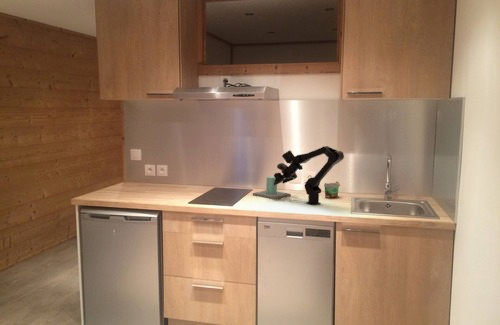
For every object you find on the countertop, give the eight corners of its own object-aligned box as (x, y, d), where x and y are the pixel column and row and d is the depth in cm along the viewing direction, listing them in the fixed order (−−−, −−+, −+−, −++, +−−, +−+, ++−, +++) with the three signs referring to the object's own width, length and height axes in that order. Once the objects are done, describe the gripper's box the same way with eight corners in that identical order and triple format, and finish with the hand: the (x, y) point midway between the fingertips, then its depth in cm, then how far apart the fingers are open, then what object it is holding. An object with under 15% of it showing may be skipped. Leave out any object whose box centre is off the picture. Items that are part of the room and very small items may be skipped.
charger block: (272, 194, 253) (272, 178, 251) (266, 193, 256) (266, 177, 255) (276, 193, 256) (277, 177, 255) (271, 192, 260) (271, 176, 258)
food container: (330, 199, 245) (331, 184, 244) (323, 198, 250) (324, 183, 249) (343, 197, 252) (343, 182, 251) (336, 195, 257) (336, 181, 256)
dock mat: (290, 195, 256) (290, 193, 255) (275, 199, 244) (275, 197, 244) (267, 191, 269) (267, 189, 269) (252, 195, 257) (252, 192, 257)
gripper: (293, 158, 253) (280, 173, 261) (276, 160, 239) (262, 176, 248) (303, 171, 248) (289, 185, 257) (286, 174, 235) (272, 189, 243)
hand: (278, 183), depth 251 cm, fingers open, 9 cm apart
